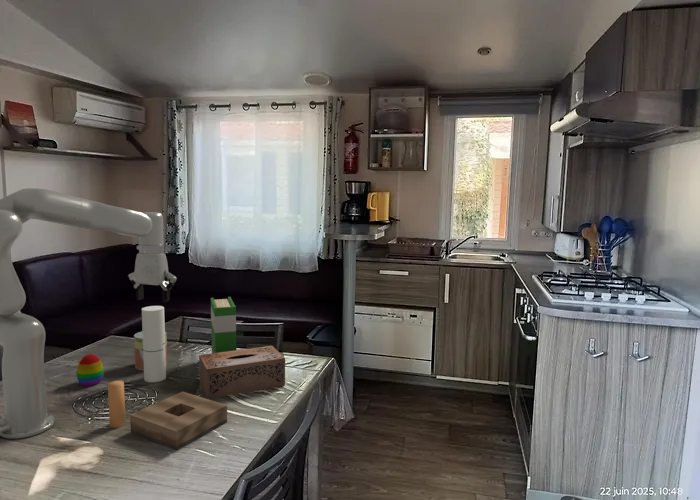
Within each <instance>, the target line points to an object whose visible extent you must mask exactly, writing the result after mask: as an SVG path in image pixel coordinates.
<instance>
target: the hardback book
mask: <svg viewBox="0 0 700 500" xmlns="http://www.w3.org/2000/svg"><path fill="white" fill-rule="evenodd" d="M236 307H237V305H235V303H234V301H233V299H232V297H231V296H227V298H222V299H220V298H219V299H215V298H214V297H210V325H211V326H210V327H211V328H210V329H211V330H210V331H211V332H210V333H211V336H210V337H211V354H212V353H220V352H227V351H235V350H237V308H236Z"/></svg>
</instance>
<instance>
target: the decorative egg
mask: <svg viewBox="0 0 700 500" xmlns="http://www.w3.org/2000/svg"><path fill="white" fill-rule="evenodd" d="M104 374H105V369H104V365H103V362H102V361H101V359H100V357H98V356H97V355H95V354H93V353H88V354H86V355H85V356H83V357H82V358H81V359H80V361H79V362H78V365H77V367H76V379H77V380H78V382H79V384H81V385H82V386H85V387H89V386H90V387H91V386H96V385H98V384H99V383H101V381H102V380H103V377H104Z"/></svg>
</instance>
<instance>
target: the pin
mask: <svg viewBox="0 0 700 500" xmlns="http://www.w3.org/2000/svg"><path fill="white" fill-rule="evenodd" d="M107 397H108V398H107V399H108V414H109V415H108V416H109V419H108V420H109V427H110V428H112V429H113V428H114V429H117V428H122V427H123V426H125V425H126V407H125V404H126V402H125V399H126V398H125V382H124V380H112V381H110V382H109V383H107Z"/></svg>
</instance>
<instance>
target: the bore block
mask: <svg viewBox="0 0 700 500" xmlns="http://www.w3.org/2000/svg"><path fill="white" fill-rule="evenodd" d="M129 421H130V424H129V425H130V433H132V434H134V435H137V436H140V437H141V438H144V439H148V440H149V441H153V442H155V443H158V444H159V445H162V446H165V447H168V448H170V449H173V450H175V451H179V449H182V448H183V447H185V446H187V445H188V444H191V443H193V442H195V441H196V440H198V439H199V438H201V437H203V436H205V435H206V434H209V433H210V432H212V431H214V430H215V429H217V428H218V427H221V426H223V425H224V424H226V423H228V404H224V403H221V402H218V401H215V400H211V399H207V398H205V397H201V396H199V395H195V394H192V393H188V392H186V391H181V392H179V393H176V394H174V395H172V396H169V397H167V398H165V399H163V400H160V401H158V402H156V403H153V404H150V405H148V406H147V407H143V408H142V409H140V410H138V411H136V412H133V413H131V414H129Z"/></svg>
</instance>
